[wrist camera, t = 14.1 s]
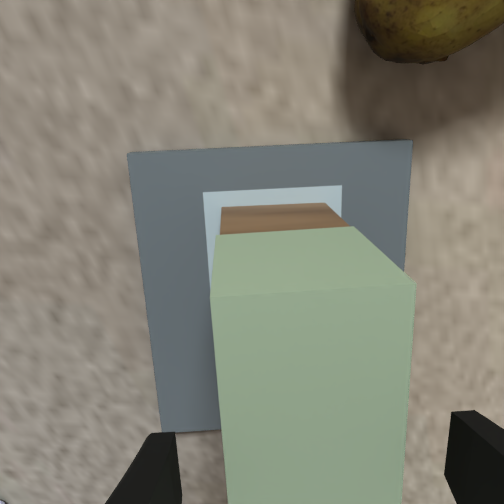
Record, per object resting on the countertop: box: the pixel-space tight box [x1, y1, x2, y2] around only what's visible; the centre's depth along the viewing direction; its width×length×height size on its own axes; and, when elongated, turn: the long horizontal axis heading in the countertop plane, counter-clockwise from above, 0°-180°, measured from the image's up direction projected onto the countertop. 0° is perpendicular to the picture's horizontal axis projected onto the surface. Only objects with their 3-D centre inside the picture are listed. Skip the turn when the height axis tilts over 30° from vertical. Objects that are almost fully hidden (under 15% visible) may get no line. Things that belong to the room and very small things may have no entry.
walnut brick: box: [220, 202, 350, 235], centre depth 18 cm, size 9×4×5 cm, turn 2°
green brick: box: [210, 226, 416, 504], centre depth 13 cm, size 9×4×5 cm, turn 3°
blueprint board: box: [127, 139, 413, 432], centre depth 21 cm, size 14×12×1 cm
